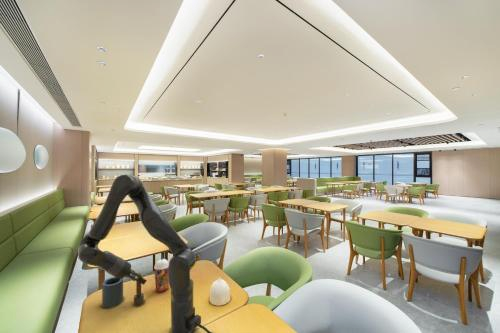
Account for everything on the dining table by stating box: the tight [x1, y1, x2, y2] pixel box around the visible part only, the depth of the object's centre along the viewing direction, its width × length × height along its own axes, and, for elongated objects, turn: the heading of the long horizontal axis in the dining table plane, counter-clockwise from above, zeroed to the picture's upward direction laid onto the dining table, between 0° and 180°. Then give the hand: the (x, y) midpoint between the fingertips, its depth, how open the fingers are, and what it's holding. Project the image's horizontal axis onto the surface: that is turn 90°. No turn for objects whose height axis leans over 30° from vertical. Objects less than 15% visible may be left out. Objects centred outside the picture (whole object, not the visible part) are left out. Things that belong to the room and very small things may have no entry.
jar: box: [101, 276, 124, 309], centre depth 110 cm, size 9×9×11 cm
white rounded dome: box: [209, 276, 231, 306], centre depth 113 cm, size 11×11×12 cm
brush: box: [133, 272, 145, 307], centre depth 109 cm, size 5×5×15 cm
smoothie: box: [153, 254, 170, 293], centre depth 121 cm, size 8×8×20 cm
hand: (142, 281), depth 111 cm, fingers open, 3 cm apart
